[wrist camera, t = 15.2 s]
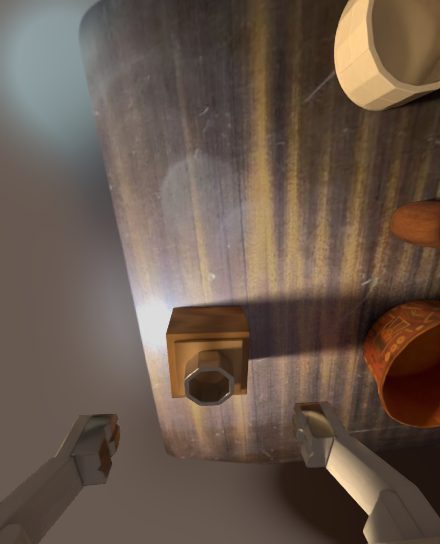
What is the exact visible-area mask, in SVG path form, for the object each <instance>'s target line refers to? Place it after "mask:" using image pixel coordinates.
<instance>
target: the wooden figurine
mask: <svg viewBox="0 0 440 544" xmlns="http://www.w3.org/2000/svg"><path fill="white" fill-rule="evenodd" d="M390 229H391V231H392V232H393V234H394V235H395V236H396V237H397V238H399V239H400V240H403V241H405V242H407V243H410V244H414V245H418V246H424V247H432V248H440V201H438V200H426V201H417V202H413V203H409V204H406V205H403V206H401V207H400V208H398V209H397V210H396V211H395V212H394V214H393V216H392V218H391V220H390Z"/></svg>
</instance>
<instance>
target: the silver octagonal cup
mask: <svg viewBox="0 0 440 544" xmlns="http://www.w3.org/2000/svg"><path fill="white" fill-rule="evenodd" d="M203 371H219V372H220V373H221V374H223V375H224V376H225V377H224V378H223V379H221V380H220V381H219V382H218V383H212V384H201V383H200V382H199V381H197V380H196V379H194V377H195V376H196V375H197V374H198V373H199V372H203ZM234 381H235V378H234V372H233V365H232V361H231V360H230V359H229V358H228V357H226V356H225V355H224V354H222V353H221V352H220V351H200V352H198V353H197V354H196V355H194V356H193V357H192V358H191V359H190V360H189V361H188V362H187V363H186V368H185V377H184V389H185V396H186V397H187V398H189V399H190V400H192V401H193V402H195V403H196V404H198V405H199V406H200V405H201V406H211V405H219V404H222V403H223V402H224V401H225V400H227V399H228V398H229V397H231V396H232V395H233V393H234Z"/></svg>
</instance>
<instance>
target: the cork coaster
mask: <svg viewBox="0 0 440 544" xmlns="http://www.w3.org/2000/svg"><path fill="white" fill-rule="evenodd" d="M242 348H243V339H242V338H238V339H211V340H183V341H174V353H175V365H176V377H177V389H178V395H185V389H184V377H185V368H186V363H187V362H188V361H189V360H190V359H191V358H192V357H193V356H194V355H196V354H197V353H198V352H200V351H220V352H221V353H222V354H224V355H225V356H226V357H228V358H229V359H230V360H231V361H232V365H233V372H234V378H235V381H234V393H237V392H241V371H242ZM224 377H225V376H224V375H223V374H221V373H220V372H219V371H203V372H199V373H198V374H197V375H196V376H195V377H194V379H196V380H197V381H199V382H200V383H201V384H212V383H218V382H219V381H220V380H221V379H223V378H224Z"/></svg>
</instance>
